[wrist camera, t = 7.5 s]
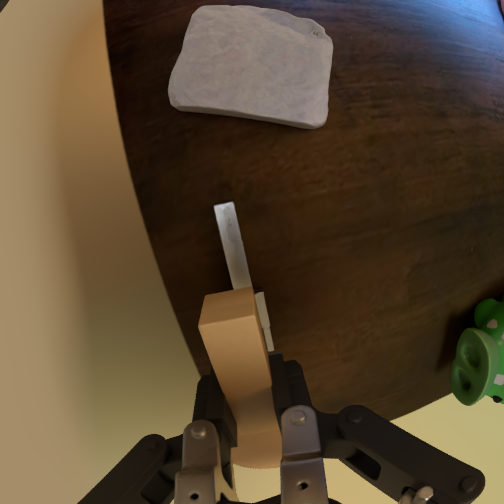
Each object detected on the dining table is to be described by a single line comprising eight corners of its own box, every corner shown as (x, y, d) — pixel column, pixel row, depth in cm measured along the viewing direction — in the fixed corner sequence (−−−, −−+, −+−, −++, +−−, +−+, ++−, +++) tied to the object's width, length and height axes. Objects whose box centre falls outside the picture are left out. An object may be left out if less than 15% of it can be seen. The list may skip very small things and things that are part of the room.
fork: (204, 205, 24) (203, 208, 22) (243, 197, 24) (243, 199, 22) (242, 349, 28) (242, 356, 27) (274, 343, 28) (275, 350, 27)
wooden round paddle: (168, 301, 12) (154, 332, 10) (290, 276, 12) (302, 305, 10) (232, 448, 15) (232, 478, 13) (314, 434, 15) (321, 464, 13)
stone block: (192, 26, 20) (169, 121, 21) (189, -6, 15) (158, 99, 16) (322, 45, 21) (316, 141, 22) (340, 18, 17) (338, 124, 18)
